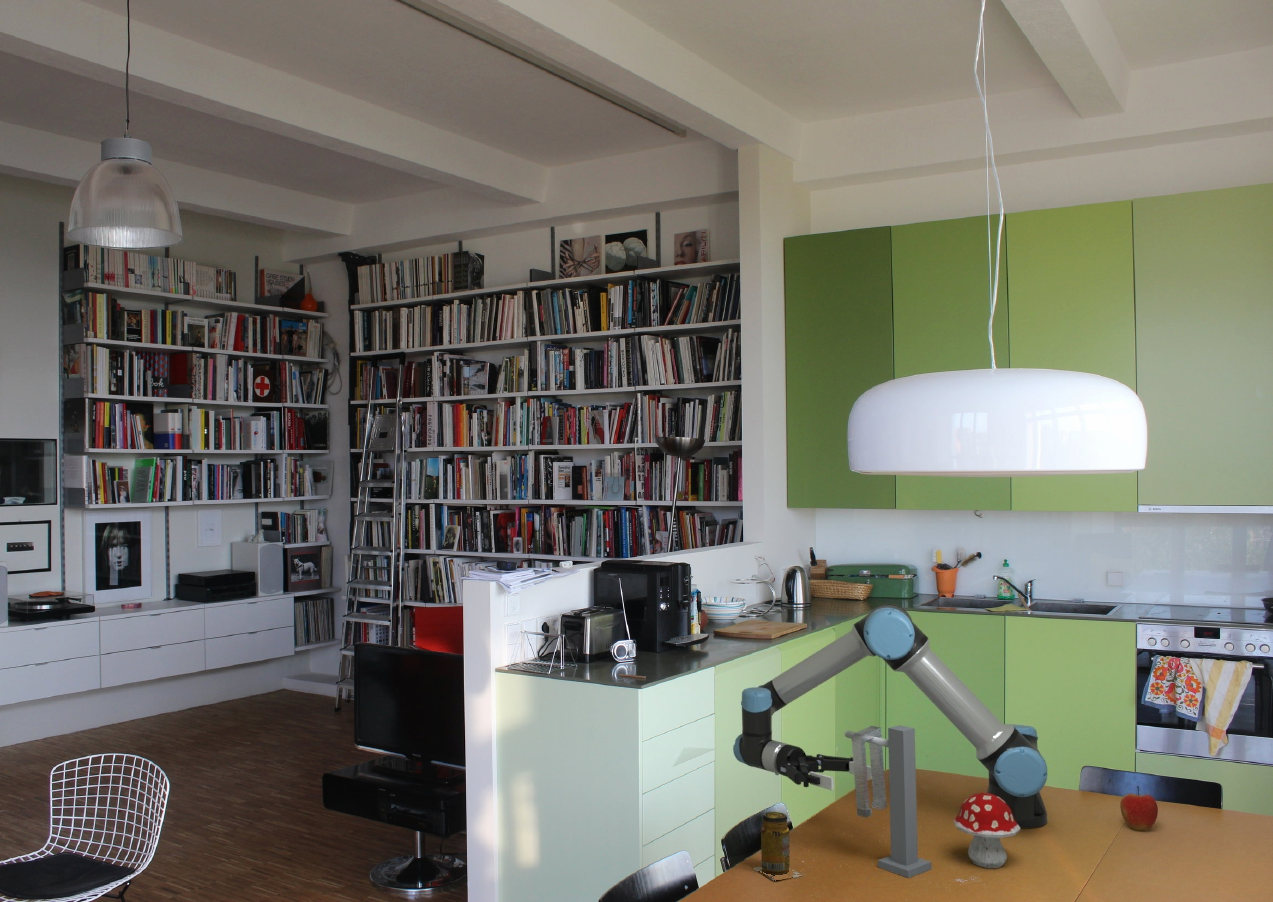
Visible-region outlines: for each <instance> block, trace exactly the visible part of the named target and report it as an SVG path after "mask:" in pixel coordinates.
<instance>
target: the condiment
mask: <svg viewBox="0 0 1273 902" xmlns="http://www.w3.org/2000/svg"><path fill="white" fill-rule="evenodd" d="M760 832H761V833H760V843H761V844H760V849H761V851H760V853H761V857H760V858H761V860H760V861H761V862H760V865H761V866H757V867H756V866H755V867H752V869H753V870H755V872H758V871H762V873H763V872H764V873H766V874H771V875H773V876H775V875H783V874H787V873H788V872H789V868H790V865H791V864H790V859H791V857H790V854H791V853H790V852H791V850H790V846H791V845H790V829H789V827H788V816H787V815H786V814H785V813H784V812H780V811H779V812H778V811H767V812H765V813H764V814H763V815H762V826H761V829H760ZM761 868H762V869H761ZM792 871H795V872H793V873H794V874H796V875H790V876H793V878H792V879H794V878H799V877H803V874H801V875H797V874H800V873H799V872H798V871H796V870H794V869H792ZM764 876H765V877H767V878H768V879H769V880H771V881H774V878H772V877H769V876H768V875H764ZM774 882H776V880H775V881H774Z"/></svg>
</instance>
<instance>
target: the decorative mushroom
mask: <svg viewBox="0 0 1273 902" xmlns="http://www.w3.org/2000/svg"><path fill="white" fill-rule="evenodd" d="M953 823H954V825H955V826H956V829H957V830H959V831H961V832H963V833H966V834H968V835H972V836H973V838H972V841H971V843H970V844H969V847H968V850H967V852H968V853H967V855H968V857H969V858H970V860H971V862H972V863H973V864H974V865H976V866H978V867H982V868H986V869H997V868H1001V867H1003V866H1004V865H1005V863H1006V861H1007V860H1008V854H1007V852H1006V849H1005V847H1004V845H1003V843H1002V841H1001V839H1003V838H1007V837H1013V836H1016V835H1017V834H1018V833H1019V832H1020V831H1021V828H1020V827H1019V825H1018V824H1017V823H1016V821H1015V820H1014V817H1013V814H1012V811H1011V809H1010V808H1009V807H1008V805H1007V804H1006V803H1005V802H1004V801H1003V800H1002V799H1001V798H1000V797H998V796H995V795H993V794H990V793H987V792H980V793H974V794H972V795H970V796H969V797H968V798H966V799H965V800H964V801H963V802H962V804H961V807H960V809H959V812H958V814H957V816H956V817H955V818H954V820H953Z"/></svg>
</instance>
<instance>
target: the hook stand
mask: <svg viewBox="0 0 1273 902" xmlns="http://www.w3.org/2000/svg"><path fill="white" fill-rule="evenodd" d="M887 728H888V729H887V734H888V735H887V736H888V737H887V738H888V739H886V738H883V737H882V738H878V737H874V738H871V739H869V740H867V741H865V743H868V744H869V743H872V744H876V745H880V746H882V747H885V748H888V773H889V774H888V778H889V779H888V781H889V786H888V787H889V788H888V789H889V820H890V821H889V825H890V855H888V856H886V857H882V858H880V859H877V867H878V868H879V869H882V870H885V871H888V872H891V873H893V874H897V875H899V876H902V877H904V878H907V879H910V878H912V877H915V876H918V875H920V874H922V873H925V872H928V871H930V870H932V862H931V861H929V860H926V859H923V858H920V857H919V853H918V850H919V849H918V848H919V847H918V813H917V811H918V810H917V809H918V808H917V806H918V805H917V773H916V771H917V770H916V767H917V766H916V765H917V764H916V735H915V733H916V732H915V730H916V729H915V728H914V727H911V726H904V725H895V726H894V725H893V726H891V727H887ZM856 732H857V731H856ZM856 732H855V731H852V730H845V732H844V737H845V738H846V739H847V738H848V739H851V740H852V737H851V734H854V733H856Z"/></svg>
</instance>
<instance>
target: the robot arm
mask: <svg viewBox="0 0 1273 902" xmlns="http://www.w3.org/2000/svg"><path fill="white" fill-rule="evenodd" d="M851 627H852V628H851V630H850V631H848V632H846V633H845V634H843V635H842V636H840V637H838V638H837V639H836V640H833V641H832V642H830V643H828V644H827V645H826V646H824V647H822V648H821V649H819V650H817V651H815V652H814V653H812V654H811V655H809V656H808V657H806V658H804V659H802V661H799V662H798V663H796V664H795V665H793V666H792V667H790V668H788V669H787V670H785V671H784V672H782V673H780V674H778V675H777V676H775V677H774V678H772V679H771V680H769V681H767V682H766V683H764V684H761V685H759V686H757V687H755V686H754V687H747V688H745V689H743V690H742V692H741V701H740V706H741V718H742V719H741V724H742V725H741V726H742V729H741V730H742V733H740V734H739V735H738V736H737V737H736V738H735V740H734V744H733V745H732V750H733V756H734V757H735V759H736V760H737V761H738V762H740V763H742V764H745V765H747V766H748V767H751V768H757V769H760V770H764V771H767V772H770V773H774V774H775V776H779V775H781V776H784V777H786V778H788V779H789V780H791V781H792V782H793V783H795V784H796V785H798V786H800V785H803V788H809V787H810V786H809V785H812V786H816V787H819V788H821V789H825V790H829V791H834V790H835V785H834V784H835V781H834V777H833V776H830V775H826V774H822V773H824V772H825V771H826V772H845V773H846V772H848V773H849V774H850V775H854V764H853V756H850V757H844V756H842V757H841V756H832V755H824V754H820V753H818V754H816V756H814V755H807V754H806V752H805V751H804V749H803V748H802V747H800V746H797V745H792V744H788V743H787V742H781V741H779V740H775V739H773V735H772V734H773V728H772V725H773V719H772V717H773V716H774V714H775V713H776V712H778V711H780V710H781V709H783V708H785V707H786V706H787V705H788V704H790V703H792V702H793V701H795V700H797V699H799V698H800V697H802V696H804V695H805V694H807V693H809V692H810V691H813V690H814V689H815V688H817V687H818V686H821V684H824V683H825V682H827V681H828V680H830V679H832V678H833V677H835V676H838V674H840V673H842V672H843V671H845V670H847V669H848V668H850V667H852V666H853V665H855V664H857V663H858V662H860V661H862V660H863V659H865V658H867V657H876V656H877V657H878V658H881V660H883V661H884V662H885V664H887V665H888V666H889V668H891V669H892V671H894V672H900V673H904V674H905V676H907V677H908V679H910V680H911V682H913V684H915V686H916V687H917V688H918V689H919V690H920V691H921V692H922V693H923V694H924V695H925V697H927V698H928V699H929V700H930V702H931V703H933V704H934V706H935V707H936V708H937V709H938V710H939V711H940V712H941V714H943V715H944V716H945V717H946V718H947V720H948V721H949V722H951V724H953V726H954V727H955V728H956V729H957V730H958V732H960V733H961V734H962V735H963V736H964V737H965V738H966V739H967V740H968V742H970V743H971V745H973V746H974V747H975V749H976V751H975V753H976V754H975V755H976V759H977V760H978V761H979V762H980V763H981V764H982V765H983V766H984V768H986V769H987V771H988V787H987V790H986V793H990V794H993V795H995V796H998V797H1000V798H1001V799H1002V800H1003V801H1004V802H1005V803H1006V804H1007V805H1008V807H1009V808H1010V809H1011V811H1012V814H1013V817H1014V820H1015V821H1016V823H1017V824H1018V825H1019V827H1020V829H1035V828H1042V827H1045V825H1047V824H1048V812H1047V808H1046V805H1045V804H1044V803H1045V802H1044V801H1043V798H1042V794H1041V792H1040V791H1041V790H1042V789H1043V788H1044V786H1045V785H1046V783H1047V780H1048V765H1047V763H1046V760H1045V758H1044V756H1043V755H1042V754H1041V752H1040V750H1039V749H1038V748H1039V747H1038V739H1039V737H1038V731H1037V729H1036V728H1035V727H1033V726H1029V725H1025V724H1024V725H1023V724H1010V723H1005V724H1004V723H1003V722H1002V721H1000V720H999V719H998V717H997V716H996V715H995V714H994V713H992V711H991V710H989V708H988V707H987V706H986V705H985V704H984V703H983V702H982V701H981V700H980V698H978V697H977V695H975V694H974V693H973V691H971V690H970V688H969V687H967V685H966V684H965V683H964V682H963V681H962V680H961V679H960V678H959V677H958V676H957V674H955V673H954V672H953V670H951V669H950V668H949V666H947V665H946V664H945V662H943V661H942V659H940V658H939V656H938V655H937V654H936V653H935V652H934V651H933V650H932V649H931V647H930V638H929V637H928V636H927V635H926V634H925V633H924V632H923V631H922V630H921V629H920V628H919V627H918V625H916V624H915V623H914V621H913V620H912V617H911V616H910V614H909V613H908V611H907V610H906V609H904V608H903V607H902V606H900V605H897V604H895V603H884V604H880V605H878V606H876V607H875V608H873V609H872V610H871V611H870V612H869V613H868V614H867V615H865V616H864V617H862V618H861V619H859V620H858V621H856V622H855V623H853V624H852V626H851ZM819 767H820V768H819ZM867 778H868V779H869V780H872V775H871V765H867Z"/></svg>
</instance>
